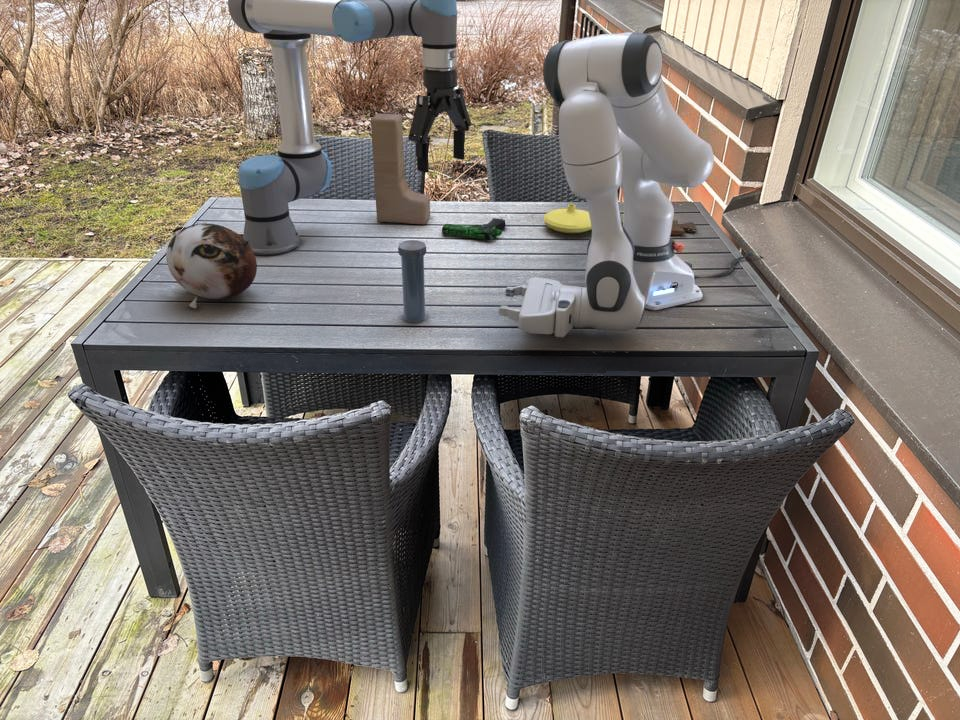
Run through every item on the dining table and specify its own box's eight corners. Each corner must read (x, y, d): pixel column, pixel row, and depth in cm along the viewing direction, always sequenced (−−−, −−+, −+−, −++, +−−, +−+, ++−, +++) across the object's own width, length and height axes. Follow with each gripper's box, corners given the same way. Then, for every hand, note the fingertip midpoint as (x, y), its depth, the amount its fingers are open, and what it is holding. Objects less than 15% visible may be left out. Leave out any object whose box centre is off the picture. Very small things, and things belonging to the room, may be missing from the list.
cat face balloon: (130, 285, 161) (164, 203, 163) (192, 308, 177) (221, 233, 178) (195, 307, 151) (229, 220, 152) (254, 330, 166) (285, 250, 168)
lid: (399, 259, 150) (399, 251, 149) (397, 248, 155) (396, 240, 154) (427, 257, 151) (427, 249, 150) (424, 247, 156) (423, 239, 155)
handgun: (511, 219, 210) (493, 234, 198) (511, 228, 211) (492, 244, 199) (461, 212, 215) (440, 226, 203) (461, 221, 217) (440, 236, 204)
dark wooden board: (699, 237, 207) (691, 225, 216) (700, 231, 206) (692, 220, 215) (610, 234, 207) (606, 222, 216) (611, 228, 207) (607, 217, 215)
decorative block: (425, 225, 212) (423, 121, 196) (376, 222, 213) (369, 118, 198) (430, 216, 218) (428, 115, 203) (382, 213, 220) (376, 113, 204)
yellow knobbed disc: (559, 216, 220) (561, 193, 217) (605, 227, 212) (608, 204, 209) (532, 230, 209) (533, 207, 206) (580, 242, 201) (582, 218, 198)
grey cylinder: (405, 323, 159) (401, 252, 150) (402, 313, 163) (399, 243, 154) (426, 321, 160) (424, 250, 151) (424, 312, 164) (421, 242, 155)
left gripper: (416, 77, 146) (419, 179, 157) (486, 63, 164) (485, 156, 175) (389, 73, 150) (394, 173, 161) (460, 60, 168) (460, 151, 178)
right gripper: (570, 273, 160) (509, 268, 162) (564, 314, 143) (495, 308, 145) (568, 298, 163) (508, 293, 165) (561, 341, 146) (495, 335, 148)
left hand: (441, 164), depth 168 cm, fingers open, 13 cm apart
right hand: (502, 300), depth 155 cm, fingers open, 8 cm apart
